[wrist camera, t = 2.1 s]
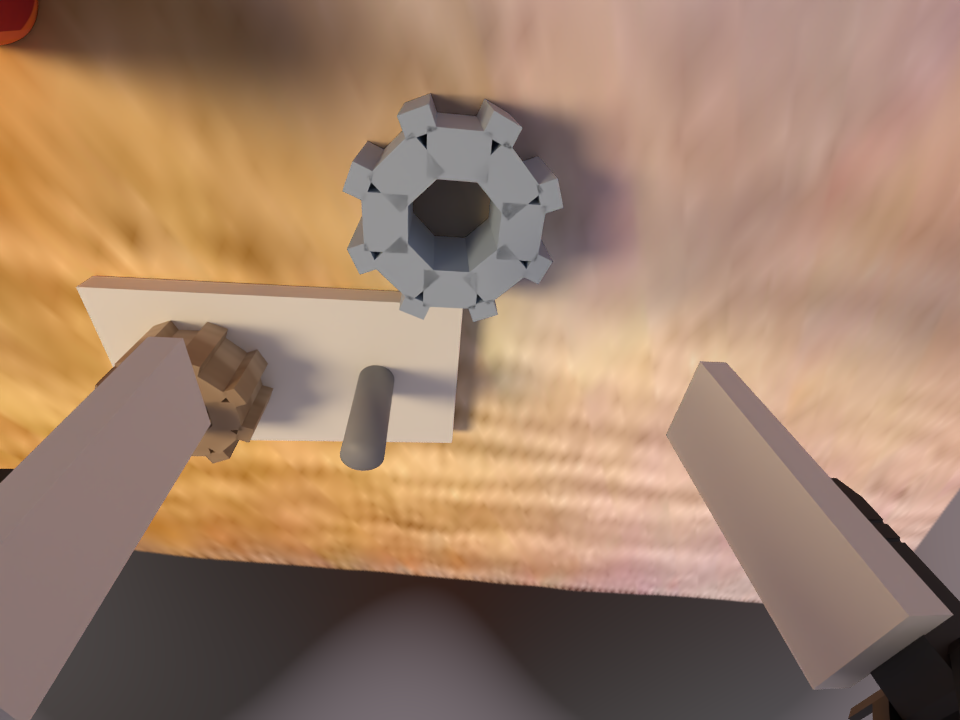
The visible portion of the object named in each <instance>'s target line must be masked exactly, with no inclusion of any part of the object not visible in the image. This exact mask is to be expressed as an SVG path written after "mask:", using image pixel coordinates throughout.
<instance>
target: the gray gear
mask: <svg viewBox="0 0 960 720" xmlns="http://www.w3.org/2000/svg"><path fill="white" fill-rule="evenodd" d="M397 117H398V120H399V122H400V125H401V128H402V132H401V133H400V134H399V135H398V136H397V137H396V138H395V139H394V140H393V141H392V142H391V143H390V144H389V145H388V146H387V147H386V148H385V149H382V148H380V147H378V146H376V145H374V144H372V143H370V142H368V141H367V143H366V144H365V145H364V147H363V148H362V149H361V151H360V152H359V154H358V155H357V156H356V158H355V159H354V160H353V162H352V165H351V168H350V170H349V173H348V176H347V179H346V182H345V185H344V188H343V192H345V193H347V194H349V195H352V196H354V197H356V198H358V199H360V200H361V202H362V217H361V219H360V222H359V224H358V226H357V228H356V230H355V233H354V235H353V237H352V239H351V241H350V244H349V246H348V248H347V250H348V252H349V254H350V256H351V258H352V260H353V262H354V264H355V266H356V268H357V270H358V272H359V274H363V273H366V272H369V271H372V270H375V269H377V270H378V271H379V272H380V273H381V274H382V275H383V276H384V277H385V278H386V279H387V280H388V281H389V282H390V283H392V284H393V285H394V286H395V287H396V288H397V289H398V290H399V291H400V292H401V293H402V294H401V301H400V308H399V310H400V311H403V312H405V313H408V314H410V315H413V316H415V317H417V318H420V319H422V320H424V318H425V316H426V314H427V312H428V310H429V308H430V307H444V308H465V309H469V312H470V314H471V317H472V320H473V322H475V321H479V320H482V319H485V318H489V317H492V316H495V315H498V313H497V309H496V304H495V299H497V298H498V297H499V296H500V295H502V294H503V293H504V292H506V291H507V290H508V289H510V288H511V287H512V286H514V285H515V284H516V283H517V282H519V281H520V280H521V279H523V278H526V279H528V280H530V281H532V282H534V283H537V284H539V282H540V281H541V279H542V278H543V276H544V275H545V273H546V272H547V270H548V268H549V267H550V265H551V264H552V262H553V261H552V259H551V257H550V255H549V253H548V252H547V250H546V248H545V246H544V244H543V242H542V240H541V236H542V230H543V225H544V219H545V214H546V213H549V212H552V211H555V210H558V209H561V208H563V203H562V198H561V193H560V188H559V182H558V178H557V177H556V176H555V175H554V174H553V172H552V171H551V170H550V169H549V168H548V167H547V166H546V164H545V163H544V162H543V161H542V160H541V159H540V158H539V157H538V156H537V157H534V158H531V159H528V160H525V161H522V160H521V159H520V157H519V156H518V154H517V153H516V152H515V150H514V149H513V145H514V143H515V141H516V140H517V138H518V136H519V134H520V132H521V130H522V127H521V126H520V125H519V124H518V122H517V121H516V120H515V119H514V118H513V117H512V116H511V115H510V114H509V113H507V112H506V111H504V110H502V109H501V108H499V107H497V106H496V105H494V104H492V103H491V102H489V101H487V100H486V99H484V101H483V103H482V105H481V107H480V109H479V112H478V114H477V116H470V115H459V114H449V113H439V112H437V111H436V108H435V105H434V102H433V99H432V96H431V93H430V94H427V95H425V96H422V97H419V98H416V99H414V100H411V101H408V102H406V103H404V105H403V107H402V108H401V110H400V112H399V113H398V115H397ZM437 179H441V180H454V181H466V182H477V183H478V184H479V185H480V186H481V188H482V189H483V190H484V191H485V193H486V194H487V195H488V196H489V198H490V207H489V217H488V219H487V220H485V221H484V222H483V223H482V224H481V225H479V226H478V227H477V228H476V229H475V230H474V231H472V232H471V233H470V234H469V235H468V236H466V237H465V238H461V237H446V236H434V235H433V234H432V232H431V231H430V230H429V229H428V228H427V227H426V226H425V225H424V224H423V223H422V222H421V221H420V220H419V219H418V217H417V216H416V215H415V214H414V213H413V201H414V200H415V199H416V198H417V197H418V196H419V195H420V194H422V193H423V192H424V191H425V190H426V189H427V188H428V187H429V186H430V185H431V184H432V183H433V182H434V181H436V180H437Z"/></svg>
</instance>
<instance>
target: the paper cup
mask: <svg viewBox="0 0 960 720" xmlns="http://www.w3.org/2000/svg"><path fill="white" fill-rule="evenodd" d="M37 13H38V0H0V45H5V44H9V43H13V42H15V41H18V40H20V39H22V38H23V37H24V36H26V35H27V34H28V33H29V32H30V30H31V29H32V27H33V25H34V23H35V21H36V18H37Z"/></svg>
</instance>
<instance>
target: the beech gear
mask: <svg viewBox="0 0 960 720" xmlns="http://www.w3.org/2000/svg"><path fill="white" fill-rule="evenodd" d="M227 331H228V329H227V328H224V327H221V326H218V325H216V324H213V323H210V322H206V324H205V325H204V326H203V327H202V328H201V330H200V331H199V330H179V329H178V328H177V327H176V326H175V325H174V323H173V322H172V321H171V320H170V321H167V322H164V323H161V324H158V325H155V326H153V327H152V328H151V329H150V330H149V331H148V332H147V333H146V334H145V335H144V336H143V337H142V338H141V339H140V340H139V341H138V342H136V343H135V344H134V345H133V346H132V347H131V348H130V349H129V350H128V351H127V352H126V353H125V354H124V355H123V356H122V357H121V358H120V359H119V360H118V361H117V362H116V363H115V364H114V365H115V366H114V367H113V368H112V369H111V370H110V371H109V372H108V373H107V374H106V375H105V376H104V377H103V378H102V379H101V380H100V381H99V382H98V383H97V384H96V385H95V389H96V388H97V387H98V386H99V385H100V384H101V383H102V382H103V381H104V380H105V379H106V378H107V377H108V376H109V375H110V374H111V373H112V372H113V371H114V370H115V369H116V368H117V367H118V366H119V365H120V364H121V363H122V362H123V361H124V360H125V359H126V358H127V357H128V356H129V355H130V354H131V353H132V352H133V351H134V350H135V349H136V348H137V347H138V346H139V345H140V344H141V343H142V342H143V341H144V340H145V339H146V338H147V337H170V338H183V340H184V343H185V346H186V349H187V352H188V355H189V358H190V361H191V364H192V367H193V370H194V373H195V377H196V380H197V383H198V386H199V389H200V392H201V395H202V398H203V401H204V404H205V406H206V407H207V413H208V417H209V420H210V423H211V424H210V426H209V428H208V429H207V431H206V433H205V434H204V436H203V437H202V439H201V441H200V442H199V444H198V446H197V447H196V449H195V451H194V452H193V454H192V455H191V456H206V457H207V458H208V459H209V460H210V461H211V462H212V463H216V462H220V461H223V460H227V459H230V457H231V455H232V453H233V451H234V449H235V447H236V445H237V443H238V441H239V440H242V441H245V442H250V440H251V438H252V436H253V434H254V432H255V429H256V427H257V425H258V423H259V421H260V419H261V417H262V415H263V413H264V411H265V409H266V406H267V404H268V402H269V400H270V397H271V394H272V391H273V388H271V387H267V386H264V385H262V381H261V376H262V374H263V372H264V370H265V369H266V367H267V365H268V363H267V362H266V360H265V359H264V358H263V356H262V355H261V353H260V352H259V351H258V349H257V350H254V351H251V352H248V353H247V352H246V351H244V350H243V349H241V348H240V347H239V346H237V345H236V344H234V343H233V342H231V341H230V340H228V339H227V338H226V335H227Z"/></svg>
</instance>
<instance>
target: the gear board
mask: <svg viewBox="0 0 960 720" xmlns="http://www.w3.org/2000/svg"><path fill="white" fill-rule="evenodd" d="M76 288H77V290H78V292H79V294H80V297H81V299H82V301H83V303H84V305H85V307H86V310H87V312H88V314H89V316H90V318H91V320H92V322H93V325H94V327H95V329H96V331H97V333H98V335H99V338H100V340H101V342H102V344H103V346H104V348H105V351H106V353H107V355H108V357H109V359H110V361H111V364H112V366H113V367H114V366H115V365H114V364H115V363H116V362H117V361H118V360H119V359H120V358H121V357H122V356H123V355H124V354H125V353H126V352H127V351H128V350H129V349H130V348H131V347H132V346H133V345H134V344H135V343H136V342H138V341H139V340H140V339H141V338H142V337H143V336H144V335H145V334H146V333H147V332H148V331H149V330H150V329H151V328H152V327H153V326H155V325H158V324H161V323H164V322H167V321H170V320H171V321H172V322H173V323H174V325H175V326H176V327H177V328H178V329H179V330H199V331H200V330H201V328H202V327H203V326H204V325H205V324H206V322H210V323H213V324H216V325H218V326H221V327H224V328H227V329H228V331H227V335H226V338H227V339H228V340H230V341H231V342H233V343H234V344H236V345H237V346H239V347H240V348H241V349H243V350H244V351H246V352H247V353H248V352H251V351H254V350H257V349H258V351H259V352H260V353H261V355H262V356H263V358H264V359H265V360H266V362H267V363H268V365H267V367H266V369H265V370H264V372H263V374H262V376H261V381H262V385H264V386H267V387H271V388H273V391H272V394H271V397H270V400H269V402H268V404H267V406H266V409H265V411H264V413H263V415H262V417H261V419H260V421H259V423H258V425H257V427H256V429H255V432H254V434H253V436H252V438H251V440H284V441H343V443H342V447H341V451H340V458H341V460H342V462H343V463H344V464H345V465H347V466H348V467H350V468H352V469H355V470H362V471H365V470H372V469H375V468H377V467H378V466H380V465H381V464H382V462H383V460H384V455H385V447H386V442H434V443H452V435H453V423H454V410H455V398H456V386H457V373H458V361H459V348H460V336H461V324H462V311H463V308H444V307H430V308H429V310H428V312H427V314H426V316H425V318H424V320H422V319H420V318H417V317H415V316H413V315H410V314H408V313H405V312H403V311H400V310H399V308H400V301H401V294H402V293H401V292H400V291H380V290H361V289H341V288H322V287H302V286H282V285H263V284H243V283H224V282H204V281H185V280H165V279H145V278H126V277H106V276H92V277H90V278H89V279H87V280H86V281H84V282H83V283H81V284H80V285H78V286H77V287H76ZM205 407H206V406H205ZM206 410H207V407H206Z"/></svg>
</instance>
